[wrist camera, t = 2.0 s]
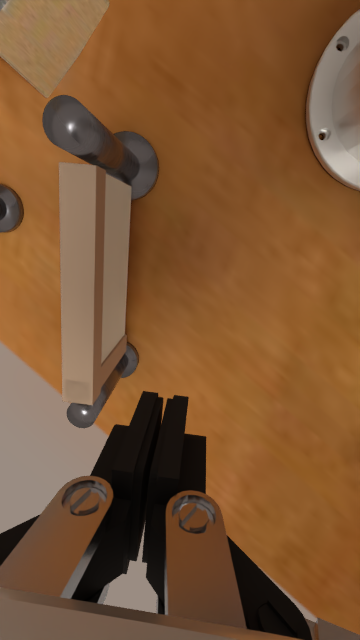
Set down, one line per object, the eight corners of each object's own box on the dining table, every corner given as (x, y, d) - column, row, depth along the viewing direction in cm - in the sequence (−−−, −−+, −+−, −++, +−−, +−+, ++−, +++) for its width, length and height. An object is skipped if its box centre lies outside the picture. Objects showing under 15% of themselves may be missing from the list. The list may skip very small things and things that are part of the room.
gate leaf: (112, 184, 26) (58, 161, 17) (136, 187, 25) (96, 165, 16) (107, 348, 30) (62, 401, 21) (128, 350, 30) (92, 405, 21)
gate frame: (-27, 121, 26) (-211, 39, 15) (161, 136, 25) (120, 62, 14) (-8, 357, 32) (-127, 429, 21) (144, 377, 31) (107, 463, 20)
